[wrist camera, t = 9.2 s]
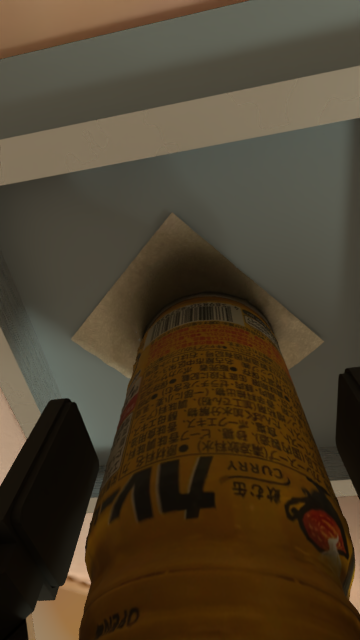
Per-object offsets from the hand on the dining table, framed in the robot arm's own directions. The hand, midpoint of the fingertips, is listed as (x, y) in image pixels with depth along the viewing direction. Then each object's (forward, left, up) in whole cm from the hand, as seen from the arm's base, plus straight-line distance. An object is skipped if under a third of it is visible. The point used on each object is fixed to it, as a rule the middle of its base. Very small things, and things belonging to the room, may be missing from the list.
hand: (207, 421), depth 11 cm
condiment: (0, 0, -5) cm, 5 cm away
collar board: (0, 0, -6) cm, 6 cm away
